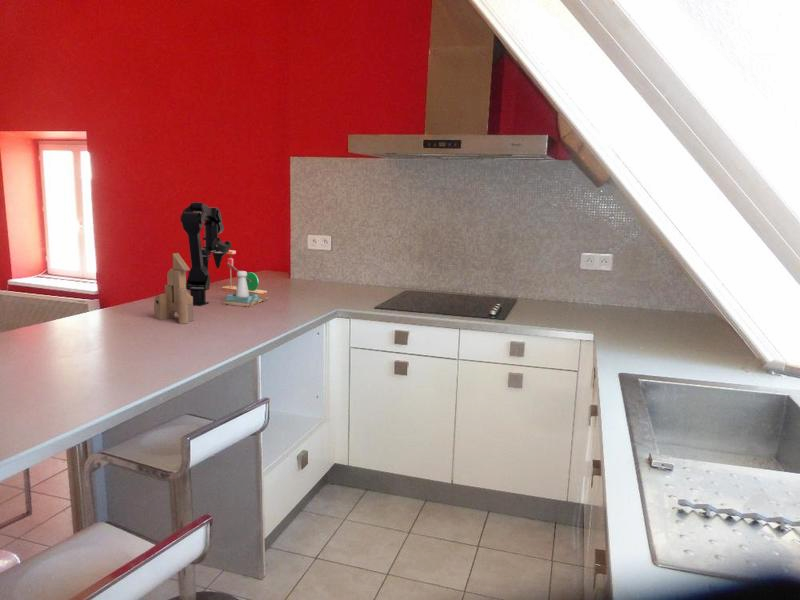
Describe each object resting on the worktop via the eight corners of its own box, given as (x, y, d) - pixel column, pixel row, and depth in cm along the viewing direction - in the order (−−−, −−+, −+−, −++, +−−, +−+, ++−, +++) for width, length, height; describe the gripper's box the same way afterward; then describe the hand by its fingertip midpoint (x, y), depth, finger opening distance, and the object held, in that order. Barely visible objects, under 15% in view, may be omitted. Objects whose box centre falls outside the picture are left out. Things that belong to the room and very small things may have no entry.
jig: (248, 307, 246) (248, 298, 245) (222, 304, 249) (222, 296, 248) (268, 300, 263) (268, 291, 262) (244, 297, 266) (244, 289, 265)
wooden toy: (153, 318, 218) (150, 252, 213) (167, 315, 223) (165, 251, 219) (183, 324, 211) (181, 256, 206) (197, 321, 217) (195, 254, 212)
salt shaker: (244, 298, 257) (243, 269, 254) (252, 300, 253) (251, 271, 251) (232, 300, 252) (232, 270, 250) (240, 302, 249) (240, 272, 246)
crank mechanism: (220, 289, 284) (219, 250, 281) (230, 288, 290) (229, 249, 287) (259, 295, 273) (258, 255, 269) (268, 294, 278) (268, 254, 275)
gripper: (215, 237, 252) (216, 273, 255) (238, 234, 270) (238, 268, 273) (193, 236, 255) (194, 271, 258) (217, 233, 273) (217, 266, 276)
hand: (212, 269), depth 266 cm, fingers open, 9 cm apart
